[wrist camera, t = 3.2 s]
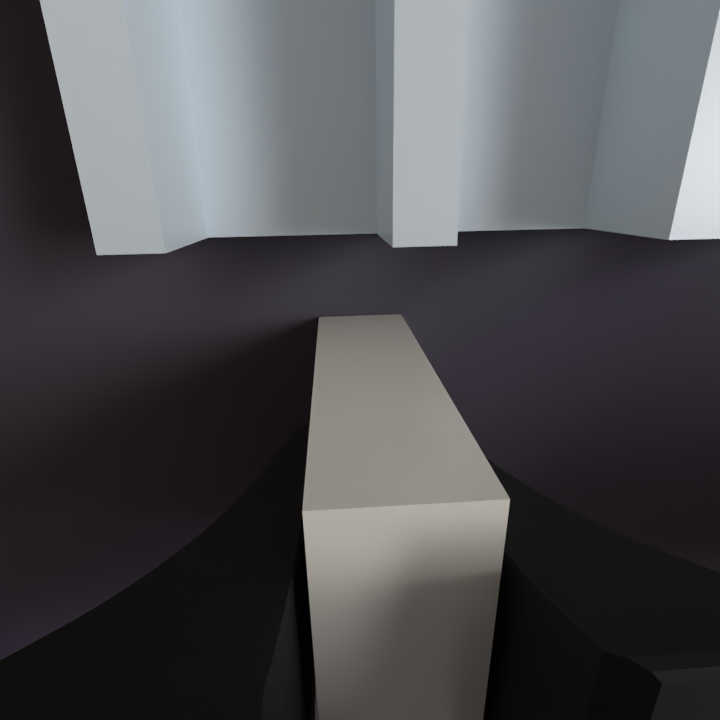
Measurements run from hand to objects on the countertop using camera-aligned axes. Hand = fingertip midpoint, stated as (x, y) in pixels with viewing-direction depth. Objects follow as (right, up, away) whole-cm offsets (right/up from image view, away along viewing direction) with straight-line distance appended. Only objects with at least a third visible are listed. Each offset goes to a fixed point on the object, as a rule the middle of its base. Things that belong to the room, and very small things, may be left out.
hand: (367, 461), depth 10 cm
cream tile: (0, +1, +2) cm, 2 cm away
